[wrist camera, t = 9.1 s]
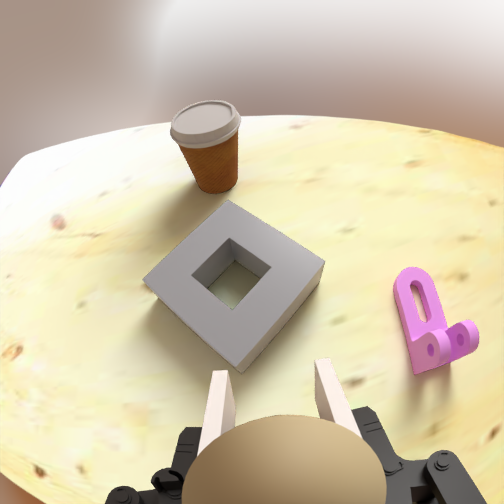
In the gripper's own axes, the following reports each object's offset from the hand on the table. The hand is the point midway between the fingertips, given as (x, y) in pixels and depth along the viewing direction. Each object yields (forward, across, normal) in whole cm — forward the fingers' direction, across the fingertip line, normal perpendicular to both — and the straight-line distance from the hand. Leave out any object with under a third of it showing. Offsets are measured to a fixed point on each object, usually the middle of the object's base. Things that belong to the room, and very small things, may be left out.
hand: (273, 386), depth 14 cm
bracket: (+16, +19, -7) cm, 26 cm away
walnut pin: (0, 0, -6) cm, 6 cm away
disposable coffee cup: (+34, -5, +11) cm, 36 cm away
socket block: (+21, -3, -2) cm, 21 cm away
